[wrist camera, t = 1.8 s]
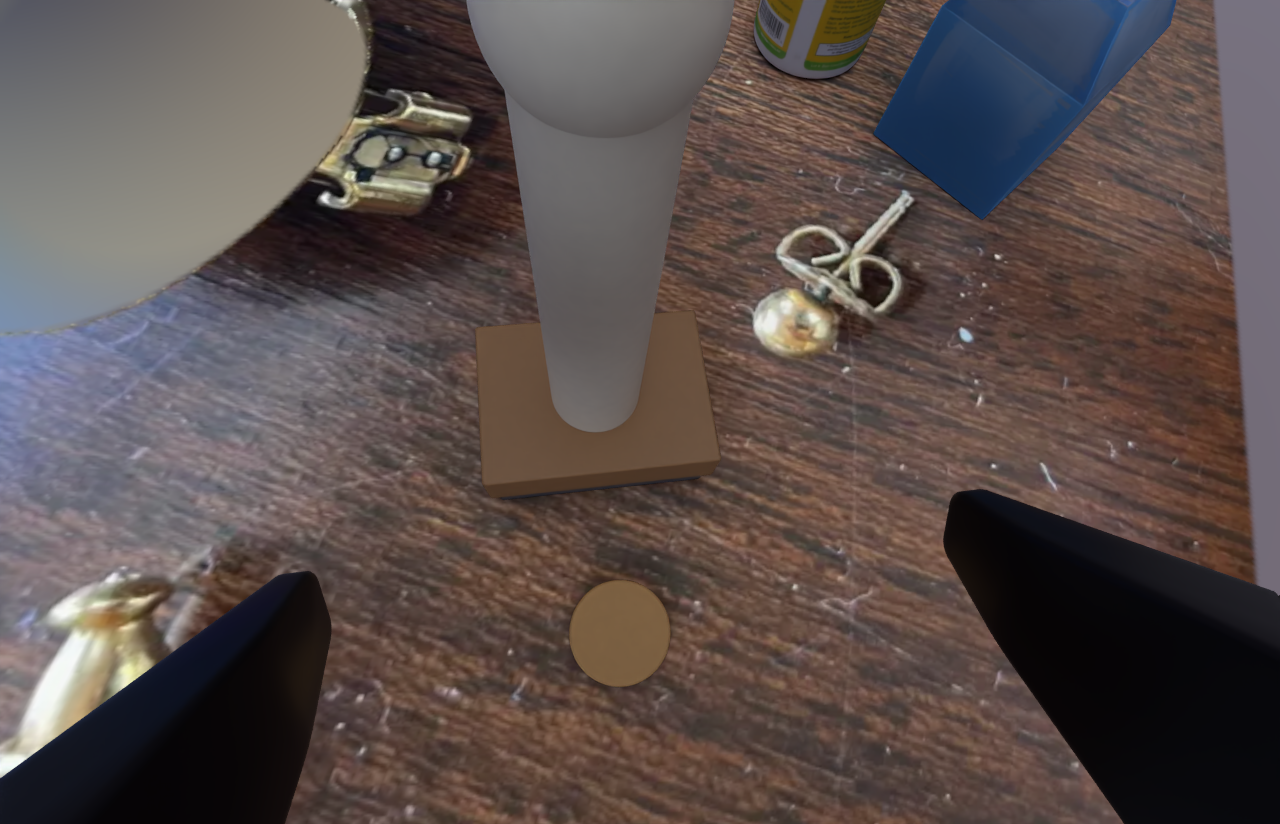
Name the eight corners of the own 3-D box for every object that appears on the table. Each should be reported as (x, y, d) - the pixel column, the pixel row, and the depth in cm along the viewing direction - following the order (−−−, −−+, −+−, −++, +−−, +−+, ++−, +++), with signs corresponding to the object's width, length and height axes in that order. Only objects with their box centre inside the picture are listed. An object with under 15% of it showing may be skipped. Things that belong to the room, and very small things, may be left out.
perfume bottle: (952, 69, 31) (1154, -260, 20) (1058, 147, 30) (1338, -158, 19) (873, 133, 29) (1046, -189, 18) (981, 220, 28) (1241, -71, 17)
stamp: (706, 484, 23) (1017, 19, 6) (495, 507, 22) (196, 43, 5) (683, 347, 25) (876, -296, 8) (488, 364, 24) (248, -313, 7)
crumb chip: (684, 658, 21) (687, 658, 20) (593, 704, 20) (592, 706, 19) (643, 566, 22) (645, 563, 21) (554, 606, 21) (553, 605, 20)
